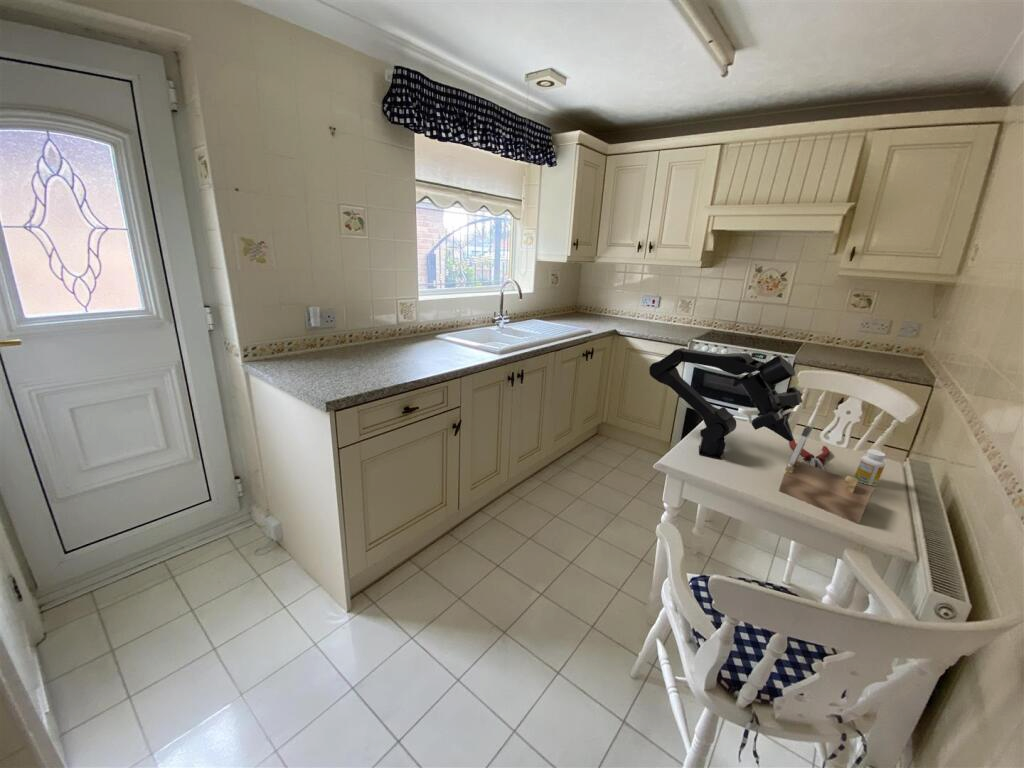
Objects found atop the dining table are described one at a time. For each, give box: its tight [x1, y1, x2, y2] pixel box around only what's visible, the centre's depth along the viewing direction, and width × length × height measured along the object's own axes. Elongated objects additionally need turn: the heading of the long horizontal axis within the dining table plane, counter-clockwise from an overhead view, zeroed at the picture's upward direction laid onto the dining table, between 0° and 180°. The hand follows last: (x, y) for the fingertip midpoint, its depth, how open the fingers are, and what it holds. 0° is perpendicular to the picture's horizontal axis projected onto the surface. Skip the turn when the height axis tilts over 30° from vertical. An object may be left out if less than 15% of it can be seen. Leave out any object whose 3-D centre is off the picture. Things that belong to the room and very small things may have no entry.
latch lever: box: [786, 425, 813, 467], centre depth 116 cm, size 13×4×1 cm
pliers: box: [788, 439, 831, 470], centre depth 135 cm, size 12×20×3 cm, turn 155°
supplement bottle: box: [854, 448, 886, 486], centre depth 123 cm, size 5×5×10 cm
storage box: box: [778, 459, 875, 525], centre depth 113 cm, size 18×12×8 cm, turn 43°
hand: (791, 440), depth 117 cm, fingers closed
